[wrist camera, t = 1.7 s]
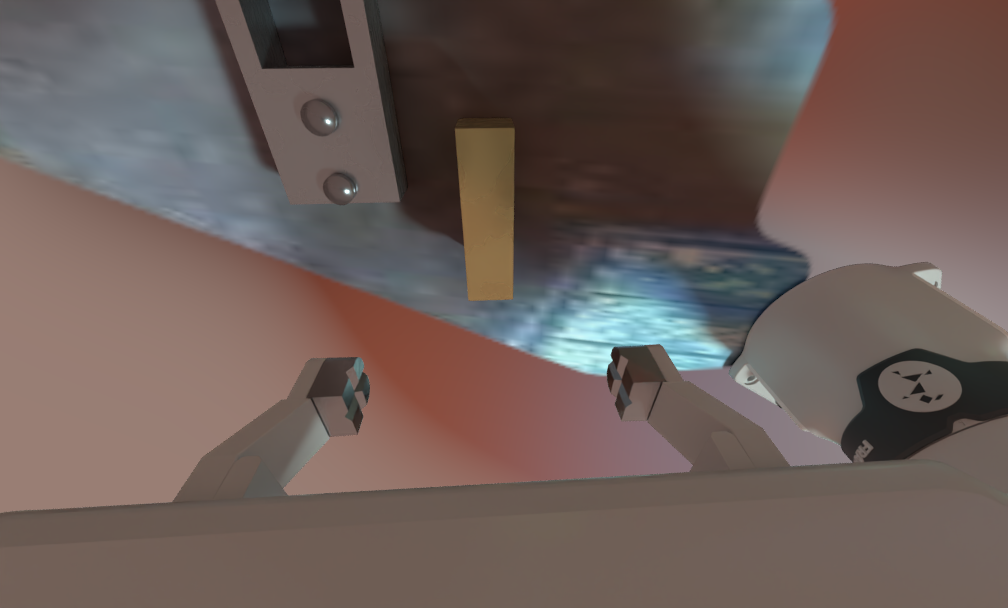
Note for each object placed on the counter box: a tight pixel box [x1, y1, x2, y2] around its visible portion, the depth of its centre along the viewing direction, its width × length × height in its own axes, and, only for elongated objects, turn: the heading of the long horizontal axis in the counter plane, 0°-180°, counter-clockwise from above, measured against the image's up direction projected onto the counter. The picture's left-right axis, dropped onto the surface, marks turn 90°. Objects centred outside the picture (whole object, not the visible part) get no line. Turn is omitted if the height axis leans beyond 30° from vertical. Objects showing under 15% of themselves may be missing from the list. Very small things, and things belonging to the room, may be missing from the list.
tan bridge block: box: [455, 118, 515, 301], centre depth 24 cm, size 11×3×6 cm, turn 0°
